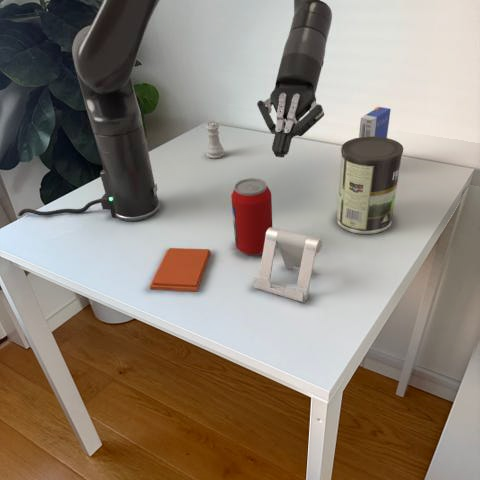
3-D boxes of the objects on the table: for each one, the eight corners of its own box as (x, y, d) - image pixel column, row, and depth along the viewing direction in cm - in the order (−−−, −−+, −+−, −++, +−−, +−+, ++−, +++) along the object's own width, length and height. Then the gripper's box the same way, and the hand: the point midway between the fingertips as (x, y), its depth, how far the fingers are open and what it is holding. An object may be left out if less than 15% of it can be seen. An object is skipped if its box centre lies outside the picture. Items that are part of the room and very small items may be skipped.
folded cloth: (150, 289, 80) (149, 283, 79) (168, 252, 88) (167, 246, 87) (197, 291, 78) (196, 285, 77) (211, 253, 86) (210, 248, 85)
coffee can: (391, 207, 94) (402, 135, 85) (392, 236, 86) (405, 160, 77) (337, 206, 96) (342, 135, 87) (334, 233, 88) (339, 159, 79)
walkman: (373, 158, 111) (379, 104, 103) (383, 161, 110) (391, 107, 102) (354, 171, 107) (359, 116, 99) (365, 174, 106) (371, 118, 98)
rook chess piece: (228, 153, 119) (225, 120, 114) (218, 160, 117) (214, 127, 111) (213, 150, 121) (209, 118, 116) (203, 157, 119) (199, 124, 113)
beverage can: (251, 233, 90) (247, 173, 82) (280, 244, 87) (279, 182, 79) (228, 250, 87) (221, 188, 79) (257, 262, 83) (254, 199, 75)
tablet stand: (253, 290, 77) (250, 246, 72) (276, 264, 82) (275, 221, 77) (302, 305, 74) (303, 259, 68) (322, 277, 79) (325, 233, 73)
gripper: (261, 49, 86) (238, 143, 86) (333, 51, 82) (309, 150, 82) (273, 73, 93) (252, 160, 93) (340, 76, 89) (317, 167, 89)
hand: (278, 155), depth 88 cm, fingers closed
